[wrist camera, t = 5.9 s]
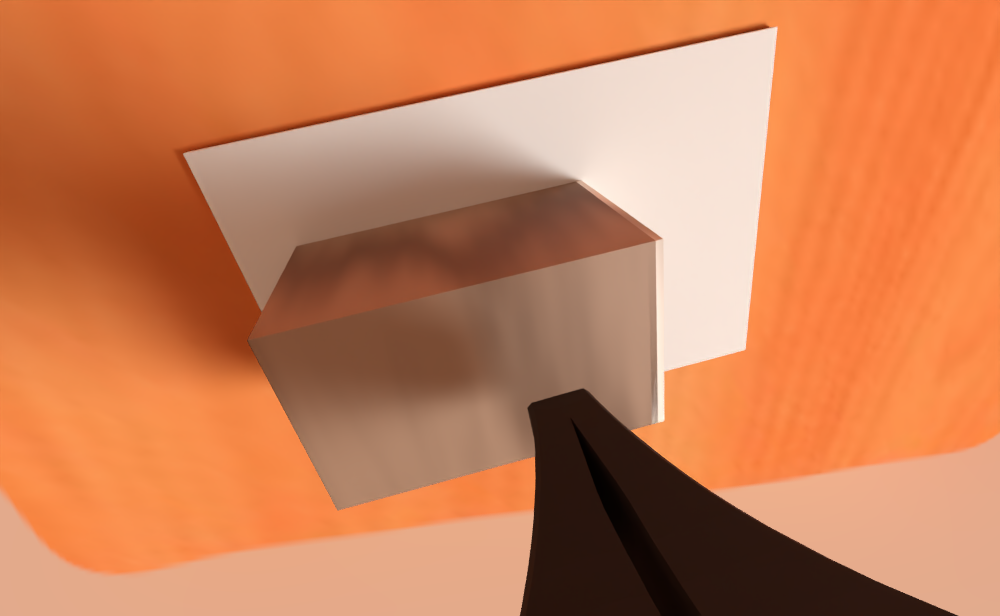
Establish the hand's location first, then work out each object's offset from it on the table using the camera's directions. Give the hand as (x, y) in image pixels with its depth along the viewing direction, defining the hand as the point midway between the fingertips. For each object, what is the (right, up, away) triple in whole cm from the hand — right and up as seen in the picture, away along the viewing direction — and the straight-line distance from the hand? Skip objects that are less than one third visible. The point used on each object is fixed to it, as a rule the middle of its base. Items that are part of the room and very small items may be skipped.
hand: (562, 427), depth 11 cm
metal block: (+2, +3, +5) cm, 6 cm away
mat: (-1, +4, +7) cm, 8 cm away
